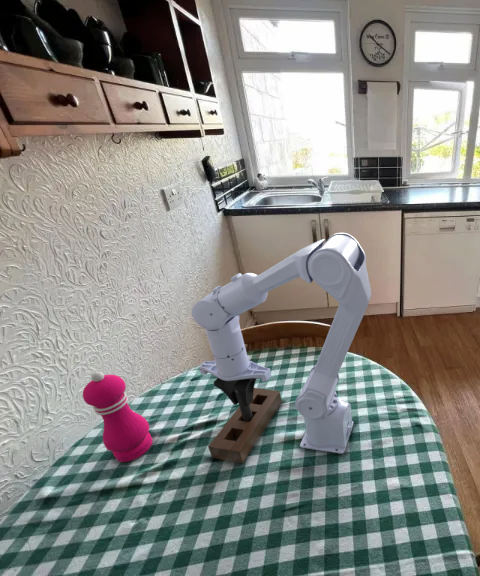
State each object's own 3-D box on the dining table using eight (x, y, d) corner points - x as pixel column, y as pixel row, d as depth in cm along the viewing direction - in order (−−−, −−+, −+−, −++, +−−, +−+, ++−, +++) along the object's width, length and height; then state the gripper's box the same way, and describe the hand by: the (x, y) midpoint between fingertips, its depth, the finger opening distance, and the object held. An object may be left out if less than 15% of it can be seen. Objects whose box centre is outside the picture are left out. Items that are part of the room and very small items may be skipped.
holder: (282, 401, 76) (279, 390, 75) (242, 463, 62) (239, 451, 60) (256, 398, 77) (253, 387, 76) (212, 458, 63) (207, 446, 61)
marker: (255, 417, 69) (247, 386, 65) (250, 424, 67) (241, 393, 64) (247, 416, 70) (238, 384, 66) (241, 423, 68) (232, 392, 64)
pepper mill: (133, 467, 61) (91, 389, 53) (103, 461, 62) (57, 384, 54) (163, 436, 67) (130, 362, 59) (136, 431, 69) (99, 358, 60)
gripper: (273, 341, 63) (284, 392, 68) (209, 334, 65) (225, 384, 71) (254, 363, 56) (267, 417, 62) (184, 355, 59) (203, 408, 65)
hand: (243, 401), depth 66 cm, fingers closed on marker, 2 cm apart
